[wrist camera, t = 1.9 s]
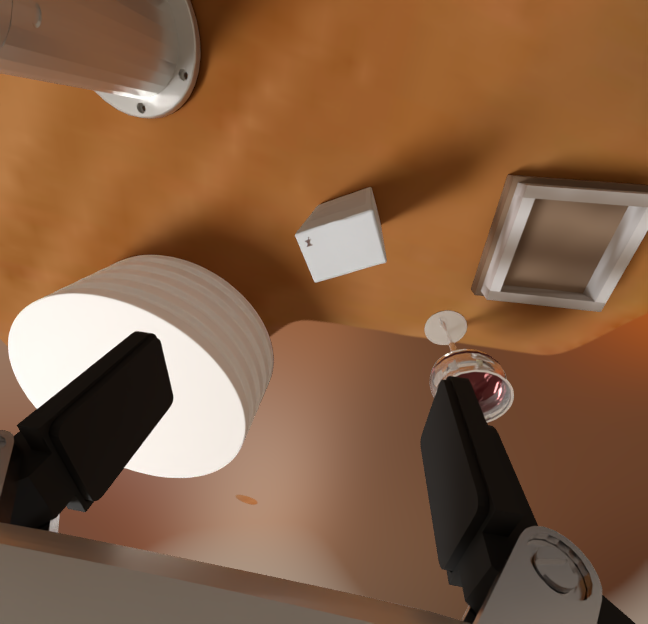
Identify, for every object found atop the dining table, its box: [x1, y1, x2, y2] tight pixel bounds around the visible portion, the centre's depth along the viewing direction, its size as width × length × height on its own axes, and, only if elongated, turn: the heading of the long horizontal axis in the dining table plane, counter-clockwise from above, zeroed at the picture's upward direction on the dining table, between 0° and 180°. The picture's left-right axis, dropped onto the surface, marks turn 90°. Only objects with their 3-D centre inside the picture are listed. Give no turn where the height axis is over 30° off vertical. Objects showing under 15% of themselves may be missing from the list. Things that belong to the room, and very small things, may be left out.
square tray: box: [471, 175, 648, 312], centre depth 30 cm, size 12×12×4 cm
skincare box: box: [295, 187, 387, 282], centre depth 28 cm, size 6×4×12 cm
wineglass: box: [425, 311, 514, 422], centre depth 33 cm, size 7×7×12 cm
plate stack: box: [8, 255, 274, 478], centre depth 41 cm, size 28×28×12 cm
